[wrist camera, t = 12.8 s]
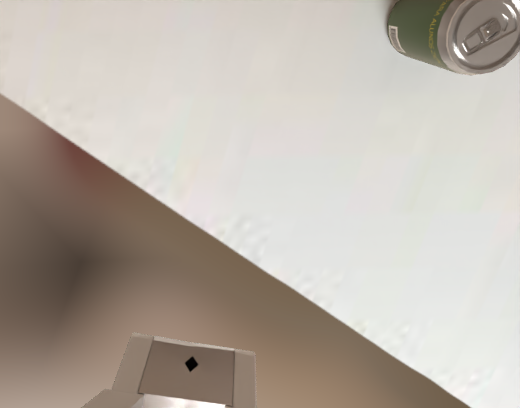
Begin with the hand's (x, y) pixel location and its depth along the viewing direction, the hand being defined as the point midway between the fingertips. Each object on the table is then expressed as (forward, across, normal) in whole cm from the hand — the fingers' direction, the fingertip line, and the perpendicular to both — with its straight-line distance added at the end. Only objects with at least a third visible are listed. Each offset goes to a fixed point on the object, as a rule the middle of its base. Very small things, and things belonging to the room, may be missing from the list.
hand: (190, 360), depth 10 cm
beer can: (+31, -14, -10) cm, 36 cm away
